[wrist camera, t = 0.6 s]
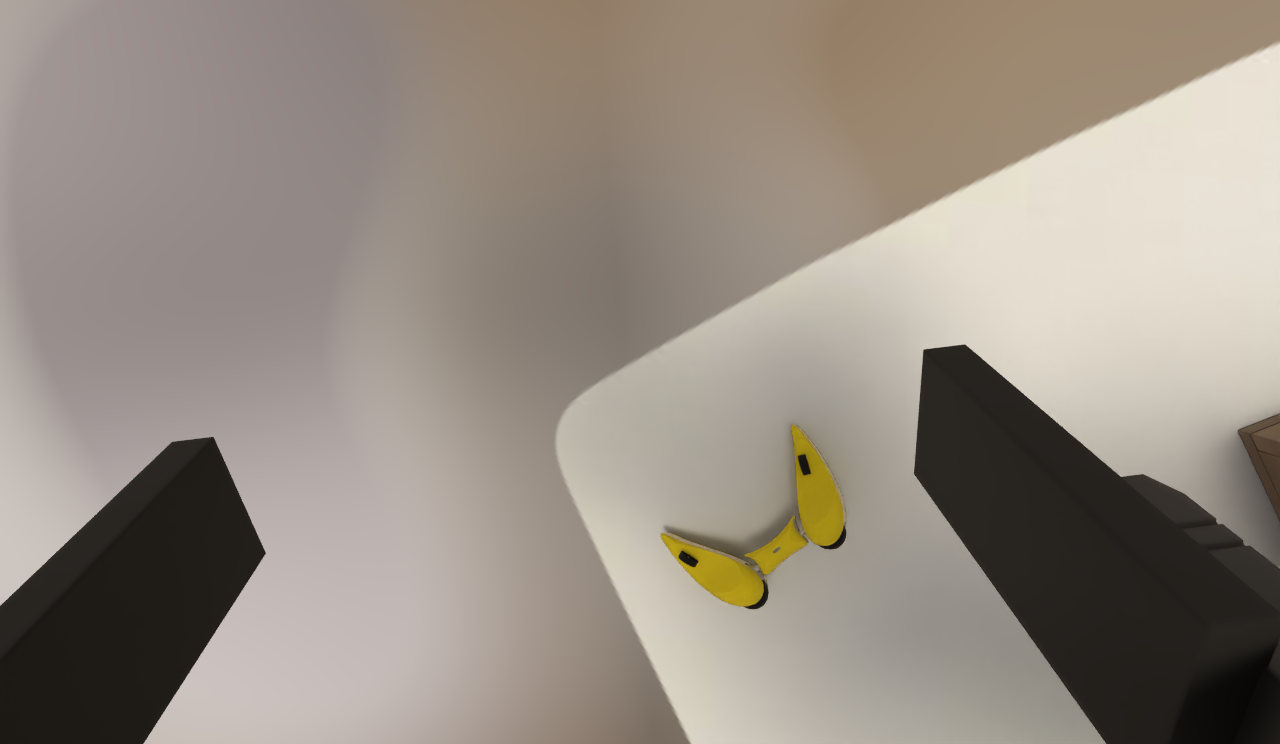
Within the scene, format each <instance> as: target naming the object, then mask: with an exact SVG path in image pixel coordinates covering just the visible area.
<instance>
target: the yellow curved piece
mask: <svg viewBox="0 0 1280 744" xmlns="http://www.w3.org/2000/svg"><path fill="white" fill-rule="evenodd" d="M791 432H792V436H793V441H794V450H795V463H796V481H797V497H798V506H799V514H800V519H801V523H802V526H803V527H802V529H801V530H800V531H799V529H798V527H797V524H796V517H795V516H793V517H792V519H791V520H790V521H789V523H788V524H787V526H786V527H785V528H784V529H783V530H782V532H781V533H780V534H779V535H778V536H776V537H775V538H774V539H773V540H772V541H771V542H769V543H768V544H766V545H765V546H763V547H761V548H760V549H758V550H756V551H753V552H751V553H749V554H746V555H744V556H747V557H749V558H751V559H753V560H754V561H755V562H756V563H757V564H756V565H755V566H753V565H751V564H749V563H748V562H746V561H744V560H741V559H739V558H736V557H734V556H732V555H729V554H726V553H723V552H720V551H717V550H714V549H711V548H708V547H705V546H702V545H699V544H696V543H694V542H691V541H688V540H685V539H683V538H681V537H679V536H677V535H675V534H673V533H661V538H662V540H663V542H664V543H665V545H666V546H667V547H668V549H669V550H670V552H671V553H672V554H673V556H674V557H675V558H676V559H677V561H678V562H679V563H680V564H681V565H682V566H683V568H684V569H685V570H686V571H687V572H688V573H689V574H690V575H691V576H692V577H693V578H694V579H695V580H696V581H697V582H698V583H699V584H700V585H701V586H702V587H704V588H705V589H706V590H707V591H709V592H710V593H711V594H713V595H714V596H716V597H717V598H719V599H720V600H722V601H724V602H727V603H729V604H732V605H736V606H743V607H745V608H748V609H758V608H760V607H762V606H763V605H764V604H765V603H766V601H767V599H768V593H769V591H768V583H767V580H766V578H765V576H764V575H768V574H770V573H772V572H773V571H774V570H775V569H776V568H777V567H778V566H779V565H780V564H781V563H782V562H783V561H784V560H786V559H787V558H788V557H789V556H791V555H792V554H794V553H795V552H797V551H798V550H800V549H802V548H803V547H805V546H806V545H807V544H808V540H807V539H806V538H805V537H804V536H803V535H804V534H805V533H806V535H807V536H808V538H809V539H810V540H811V541H812V542H813V543H815V544H817V545H819V546H820V547H822V548H824V549H836V548H838V547H840V546H841V545H842V544H843V542H844V541H845V538H846V529H845V527H846V509H845V505H844V501H843V497H842V494H841V491H840V489H839V487H838V484H837V482H836V479H835V477H834V476H833V474H832V472H831V470H830V468H829V467H828V465H827V463H826V461H825V460H824V458H823V457H822V455H821V454H820V452H819V451H818V450H817V448H816V447H815V445H814V444H813V443H812V441H811V440H810V439H809V438H808V436H807V435H806V434H805V433H804V432H803V431H802V430H801V429H800V428H799V427H798V426H796V425H794V424H793V425H792V427H791ZM759 569H761V570H762V572H763V573H764V575H763V573H762V572H760V571H759Z"/></svg>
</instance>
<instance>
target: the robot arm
mask: <svg viewBox="0 0 1280 744" xmlns="http://www.w3.org/2000/svg"><path fill="white" fill-rule="evenodd" d="M914 475H915V476H916V477H917V479H918V480H919V482H920V483H921V484H922V486H923V487H924V489H925V490H926V491H927V493H928V494H929V496H930V497H931V498H932V500H933V501H934V503H935V504H936V505H937V507H938V508H939V510H940V511H941V512H942V514H943V515H944V517H945V518H946V520H947V521H948V522H949V524H950V525H951V527H952V528H953V529H954V531H955V532H956V534H957V535H958V536H959V538H960V539H961V541H962V542H963V543H964V545H965V546H966V548H967V549H968V550H969V552H970V553H971V555H972V556H973V557H974V559H975V560H976V562H977V563H978V564H979V566H980V567H981V569H982V570H983V571H984V573H985V574H986V576H987V577H988V578H989V580H990V581H991V583H992V584H993V585H994V587H995V588H996V590H997V591H998V592H999V594H1000V595H1001V597H1002V598H1003V599H1004V601H1005V602H1006V604H1007V605H1008V606H1009V608H1010V609H1011V611H1012V612H1013V613H1014V615H1015V616H1016V618H1017V619H1018V621H1019V622H1020V623H1021V625H1022V626H1023V628H1024V629H1025V630H1026V632H1027V633H1028V635H1029V636H1030V637H1031V639H1032V640H1033V642H1034V643H1035V644H1036V646H1037V647H1038V649H1039V650H1040V651H1041V653H1042V654H1043V656H1044V657H1045V658H1046V660H1047V661H1048V663H1049V664H1050V665H1051V667H1052V668H1053V670H1054V671H1055V672H1056V674H1057V675H1058V677H1059V678H1060V679H1061V681H1062V682H1063V684H1064V685H1065V686H1066V688H1067V689H1068V691H1069V692H1070V693H1071V695H1072V696H1073V698H1074V699H1075V700H1076V702H1077V703H1078V705H1079V706H1080V707H1081V709H1082V710H1083V712H1084V713H1085V714H1086V716H1087V717H1088V719H1089V720H1090V722H1091V723H1092V724H1093V726H1094V727H1095V729H1096V730H1097V731H1098V733H1099V734H1100V736H1101V737H1102V738H1103V740H1104V741H1105V743H1106V744H1280V569H1279V568H1278V567H1276V566H1275V565H1274V564H1273V563H1271V562H1270V561H1269V560H1268V559H1266V558H1265V557H1264V556H1263V555H1261V554H1260V553H1259V552H1257V551H1256V550H1255V549H1254V548H1252V547H1251V546H1245V545H1244V544H1243V540H1242V539H1241V538H1240V537H1238V536H1237V535H1236V534H1235V533H1233V532H1232V531H1231V530H1230V529H1228V528H1227V527H1226V526H1224V525H1223V524H1219V525H1218V524H1217V522H1216V518H1214V517H1213V516H1212V515H1210V514H1209V513H1208V512H1207V511H1205V510H1204V509H1203V508H1202V507H1200V506H1199V505H1198V504H1197V503H1195V502H1194V501H1193V500H1191V499H1190V498H1189V497H1188V496H1186V495H1185V494H1183V493H1181V492H1179V491H1177V490H1175V489H1173V488H1171V487H1169V486H1167V485H1164V484H1162V483H1160V482H1158V481H1156V480H1154V479H1152V478H1150V477H1148V476H1145V475H1143V474H1142V475H1134V476H1126V477H1120V476H1119V475H1118V474H1117V473H1115V472H1114V471H1113V470H1112V469H1111V468H1110V467H1108V466H1107V465H1106V464H1105V463H1104V462H1102V461H1101V460H1100V459H1099V458H1098V457H1097V456H1095V455H1094V454H1093V453H1092V452H1091V451H1090V450H1088V449H1087V448H1086V447H1085V446H1084V445H1083V444H1081V443H1080V442H1079V441H1078V440H1077V439H1075V438H1074V437H1073V436H1072V435H1071V434H1070V433H1068V432H1067V431H1066V430H1065V429H1064V428H1063V427H1061V426H1060V425H1059V424H1058V423H1057V422H1056V421H1054V420H1053V419H1052V418H1051V417H1050V416H1048V415H1047V414H1046V413H1045V412H1044V411H1043V410H1041V409H1040V408H1039V407H1038V406H1037V405H1036V404H1034V403H1033V402H1032V401H1031V400H1030V399H1029V398H1027V397H1026V396H1025V395H1024V394H1023V393H1021V392H1020V391H1019V390H1018V389H1017V388H1016V387H1014V386H1013V385H1012V384H1011V383H1010V382H1009V381H1007V380H1006V379H1005V378H1004V377H1003V376H1002V375H1000V374H999V373H998V372H997V371H996V370H994V369H993V368H992V367H991V366H990V365H989V364H987V363H986V362H985V361H984V360H983V359H982V358H980V357H979V356H978V355H977V354H976V353H975V352H973V351H972V350H971V349H970V348H969V347H967V346H966V345H957V346H949V347H941V348H933V349H925V350H924V351H923V364H922V377H921V390H920V403H919V416H918V429H917V442H916V455H915V468H914ZM265 554H266V553H265V550H264V548H263V546H262V544H261V542H260V539H259V537H258V535H257V533H256V530H255V528H254V526H253V524H252V522H251V519H250V517H249V515H248V513H247V510H246V508H245V506H244V504H243V502H242V499H241V497H240V495H239V493H238V491H237V488H236V486H235V484H234V482H233V479H232V477H231V475H230V473H229V470H228V468H227V466H226V464H225V462H224V459H223V457H222V455H221V453H220V450H219V448H218V446H217V444H216V442H215V439H214V437H209V438H201V439H193V440H184V441H176V442H172V443H171V444H170V445H169V446H167V447H166V448H165V449H164V450H163V451H162V452H161V453H160V454H159V455H158V456H157V457H156V458H155V459H154V460H153V461H152V462H151V463H150V464H149V465H148V466H146V467H145V468H144V469H143V470H142V471H141V472H140V473H139V474H138V475H137V476H136V477H135V478H134V479H133V480H132V481H131V482H130V483H129V484H128V485H127V486H126V487H124V488H123V489H122V490H121V491H120V492H119V493H118V494H117V495H116V496H115V497H114V498H113V499H112V500H111V501H110V502H109V503H108V504H107V505H106V506H105V507H103V508H102V510H101V511H99V512H98V513H97V515H95V516H94V517H93V518H92V519H91V520H90V521H89V522H88V523H87V524H86V525H85V526H84V527H83V528H82V529H81V530H79V532H77V533H76V534H75V535H74V536H73V537H72V538H71V539H70V540H69V541H68V542H67V543H66V544H65V545H64V546H63V547H62V548H61V549H60V550H59V551H57V552H56V553H55V554H54V555H53V556H52V557H51V558H50V559H49V560H48V561H47V562H46V563H45V564H44V565H43V566H42V567H41V568H40V569H39V570H37V571H36V573H34V574H33V575H32V576H31V577H30V578H29V579H28V580H27V581H26V582H25V583H24V584H23V585H22V586H21V587H20V588H19V589H18V590H17V591H16V592H14V593H13V594H12V595H11V596H10V597H9V598H8V599H7V600H6V601H5V602H4V603H3V604H2V605H1V606H0V744H143V743H144V742H145V740H146V739H147V737H148V735H149V734H150V733H151V731H152V729H153V728H154V726H155V725H156V723H157V721H158V720H159V719H160V717H161V715H162V714H163V712H164V711H165V709H166V708H167V706H168V705H169V703H170V701H171V700H172V698H173V697H174V695H175V694H176V692H177V691H178V689H179V687H180V686H181V684H182V683H183V681H184V680H185V678H186V676H187V675H188V673H189V672H190V670H191V669H192V667H193V666H194V664H195V663H196V661H197V660H198V658H199V656H200V654H201V653H202V652H203V650H204V648H205V647H206V645H207V644H208V642H209V641H210V639H211V638H212V636H213V635H214V633H215V631H216V630H217V628H218V627H219V625H220V624H221V622H222V620H223V619H224V618H225V616H226V614H227V613H228V611H229V610H230V608H231V607H232V605H233V603H234V602H235V600H236V599H237V597H238V596H239V594H240V593H241V591H242V590H243V588H244V586H245V585H246V583H247V582H248V580H249V579H250V577H251V576H252V574H253V572H254V571H255V569H256V568H257V566H258V564H259V563H260V561H261V560H262V558H263V557H264V555H265Z"/></svg>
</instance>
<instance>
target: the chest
mask: <svg viewBox="0 0 1280 744" xmlns="http://www.w3.org/2000/svg"><path fill="white" fill-rule="evenodd" d="M1238 432H1239V434H1240V436H1241V438H1242V440H1243V442H1244V444H1245V447H1246V449H1247V451H1248V453H1249V455H1250V457H1251V460H1252V462H1253V464H1254V466H1255V468H1256V470H1257V472H1258V475H1259V477H1260V479H1261V481H1262V483H1263V485H1264V487H1265V490H1266V492H1267V494H1268V496H1269V498H1270V500H1271V503H1272V505H1273V507H1274V509H1275V511H1276V513H1277V515H1278V518H1279V520H1280V414H1279V415H1276V416H1274V417H1271V418H1269V419H1266V420H1264V421H1261V422H1259V423H1256V424H1253V425H1251V426H1248V427H1246V428H1243V429H1241V430H1239V431H1238Z"/></svg>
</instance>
